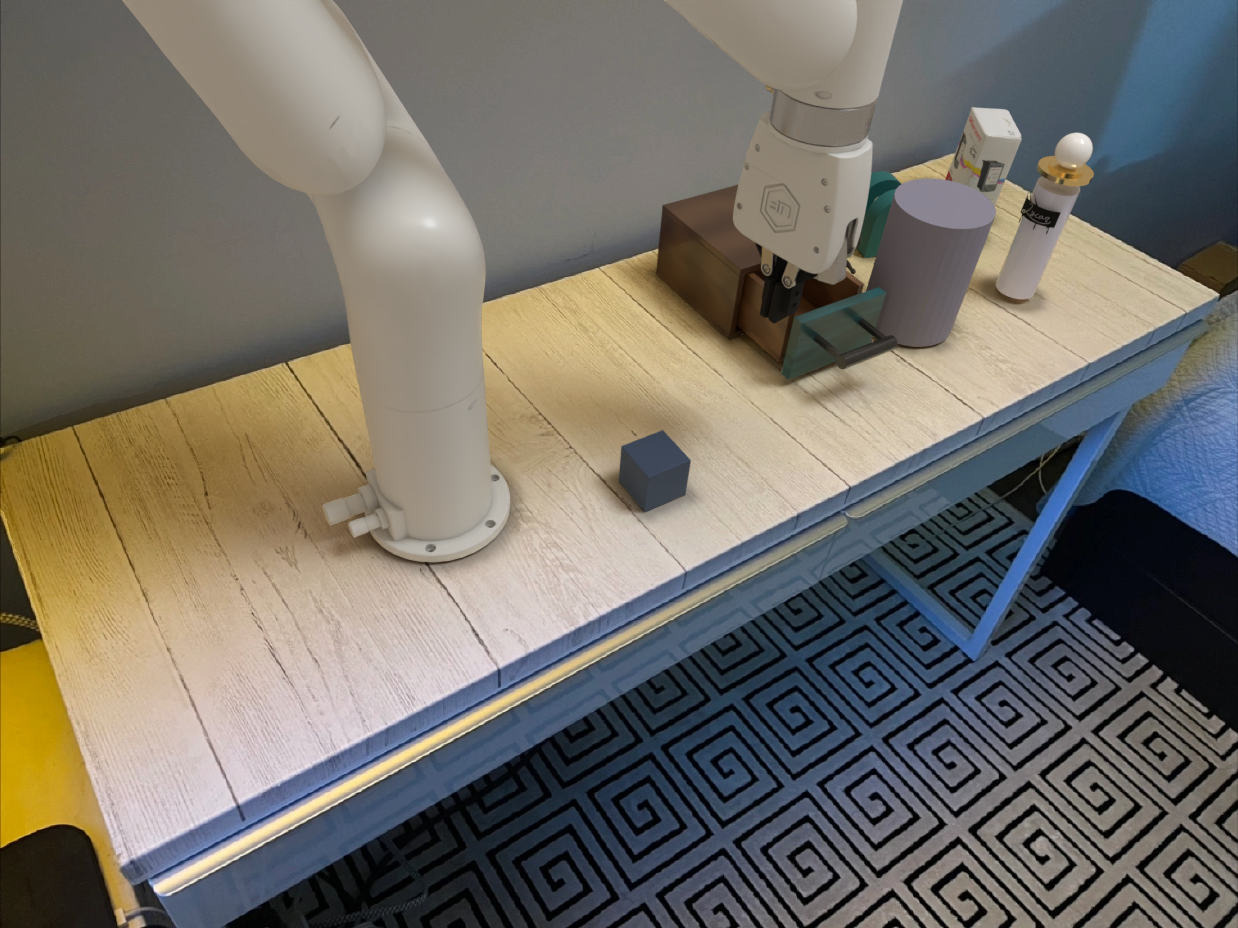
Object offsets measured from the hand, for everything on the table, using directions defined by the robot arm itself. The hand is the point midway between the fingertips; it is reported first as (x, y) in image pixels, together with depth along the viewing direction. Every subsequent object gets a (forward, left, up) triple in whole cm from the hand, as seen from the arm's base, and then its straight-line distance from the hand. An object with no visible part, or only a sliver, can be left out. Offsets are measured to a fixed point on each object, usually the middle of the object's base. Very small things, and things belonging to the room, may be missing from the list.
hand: (777, 313), depth 81 cm
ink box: (+54, +22, -14) cm, 60 cm away
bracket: (+41, +19, -14) cm, 47 cm away
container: (+26, +6, -14) cm, 30 cm away
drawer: (+12, +7, -13) cm, 19 cm away
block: (-14, -2, -14) cm, 19 cm away
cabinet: (+12, +20, -14) cm, 27 cm away
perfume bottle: (+42, +4, -14) cm, 45 cm away
